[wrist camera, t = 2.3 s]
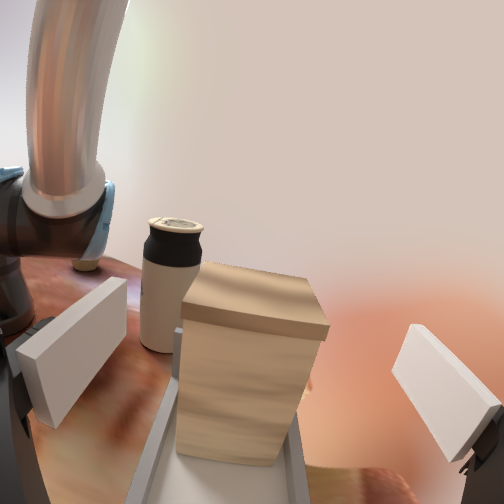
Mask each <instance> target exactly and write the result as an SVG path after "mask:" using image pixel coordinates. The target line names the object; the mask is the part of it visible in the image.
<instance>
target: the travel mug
mask: <svg viewBox="0 0 504 504" xmlns="http://www.w3.org/2000/svg"><path fill="white" fill-rule="evenodd" d="M148 224H149V225H150V235H149V237H148V238H147V240H146V242H145V243H144V251H143V263H142V278H141V296H140V329H139V338H140V341H141V342H142V344H143V345H144V346H146V347H147V348H149V349H151V350H154V351H157V352H161V353H173V343H174V331H175V329H176V327H177V328H182V329H183V322H184V319H181V318H180V315H181V305H182V300H183V298H184V297H185V295H186V293H187V291H188V290H189V288H190V286H191V285H192V283H193V281H194V279H195V278H196V276H197V274H198V273H199V270H200V263H201V256H202V249H201V246H200V243H199V237H200V234H201V231H203V229H204V227H203V226H202V225H201V224H198V223H196V222H192V221H189V220H183V219H176V218H163V217H160V218H152V219H150V220H149V221H148Z"/></svg>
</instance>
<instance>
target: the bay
mask: <svg viewBox="0 0 504 504" xmlns="http://www.w3.org/2000/svg"><path fill="white" fill-rule="evenodd" d="M182 332H183V329H182V328H177V327H176V329H175V331H174V343H173V358H172V376H171V379H170V381H169V384H168V386H167V389H166V391H165V394H164V396H163V399H162V402H161V404H160V407H159V409H158V412H157V415H156V417H155V420H154V422H153V425H152V428H151V430H150V433H149V436H148V438H147V441H146V444H145V446H144V449H143V452H142V455H141V457H140V460H139V463H138V466H137V468H136V471H135V474H134V477H133V479H132V482H131V485H130V488H129V491H128V494H127V496H126V499H125V502H124V504H311V502H310V495H309V488H308V482H307V475H306V469H305V462H304V456H303V450H302V443H301V437H300V431H299V425H298V419H297V413H295V415H294V418H293V420H292V423H291V425H290V427H289V430H288V432H287V435H286V437H285V439H284V442H283V444H282V446H281V449H280V451H279V453H278V456H277V458H276V460H275V462H274V465H273V467H269V466H256V465H246V464H237V463H229V462H222V461H215V460H209V459H204V458H198V457H193V456H188V455H183V454H178V453H176V423H177V402H178V384H179V369H180V356H181V344H182Z"/></svg>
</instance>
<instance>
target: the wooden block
mask: <svg viewBox="0 0 504 504" xmlns="http://www.w3.org/2000/svg"><path fill="white" fill-rule="evenodd" d="M180 318H181V319H184V322H183V332H182V344H181V356H180V369H179V384H178V402H177V423H176V453H178V454H183V455H188V456H193V457H198V458H204V459H209V460H215V461H222V462H229V463H237V464H246V465H256V466H269V467H273V465H274V462H275V460H276V458H277V456H278V453H279V451H280V449H281V446H282V444H283V442H284V439H285V437H286V435H287V432H288V430H289V427H290V425H291V423H292V420H293V418H294V415H295V413H296V410H297V407H298V405H299V402H300V400H301V397H302V394H303V392H304V389H305V386H306V383H307V381H308V378H309V375H310V372H311V369H312V367H313V364H314V361H315V358H316V355H317V352H318V348H319V346H320V343H321V341H325V339H326V337H327V334H328V330H329V327H330V324H329V322H328V320H327V318H326V316H325V314H324V312H323V310H322V308H321V306H320V304H319V302H318V300H317V299H316V296H315V294H314V293H313V290H312V288H311V286H310V284H309V283H308V281H307V279H306V278H300V277H294V276H288V275H282V274H277V273H271V272H265V271H259V270H254V269H248V268H242V267H237V266H231V265H226V264H220V263H215V262H209V261H205V263H204V264H203V266H202V268H201V269H200V271H199V273H198V274H197V276H196V278H195V279H194V281H193V283H192V285H191V286H190V288H189V290H188V291H187V293H186V295H185V297H184V298H183V300H182V305H181V315H180Z"/></svg>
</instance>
